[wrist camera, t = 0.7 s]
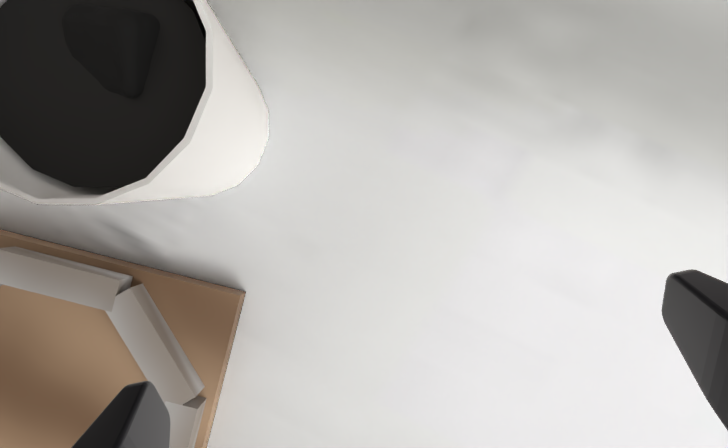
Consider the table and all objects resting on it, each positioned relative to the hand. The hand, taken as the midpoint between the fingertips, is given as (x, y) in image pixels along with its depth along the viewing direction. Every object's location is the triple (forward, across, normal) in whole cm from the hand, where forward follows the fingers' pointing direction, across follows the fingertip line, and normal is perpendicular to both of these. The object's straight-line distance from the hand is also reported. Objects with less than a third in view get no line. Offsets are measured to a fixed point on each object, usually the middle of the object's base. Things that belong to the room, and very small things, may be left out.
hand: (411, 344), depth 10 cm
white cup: (+15, +6, +1) cm, 16 cm away
